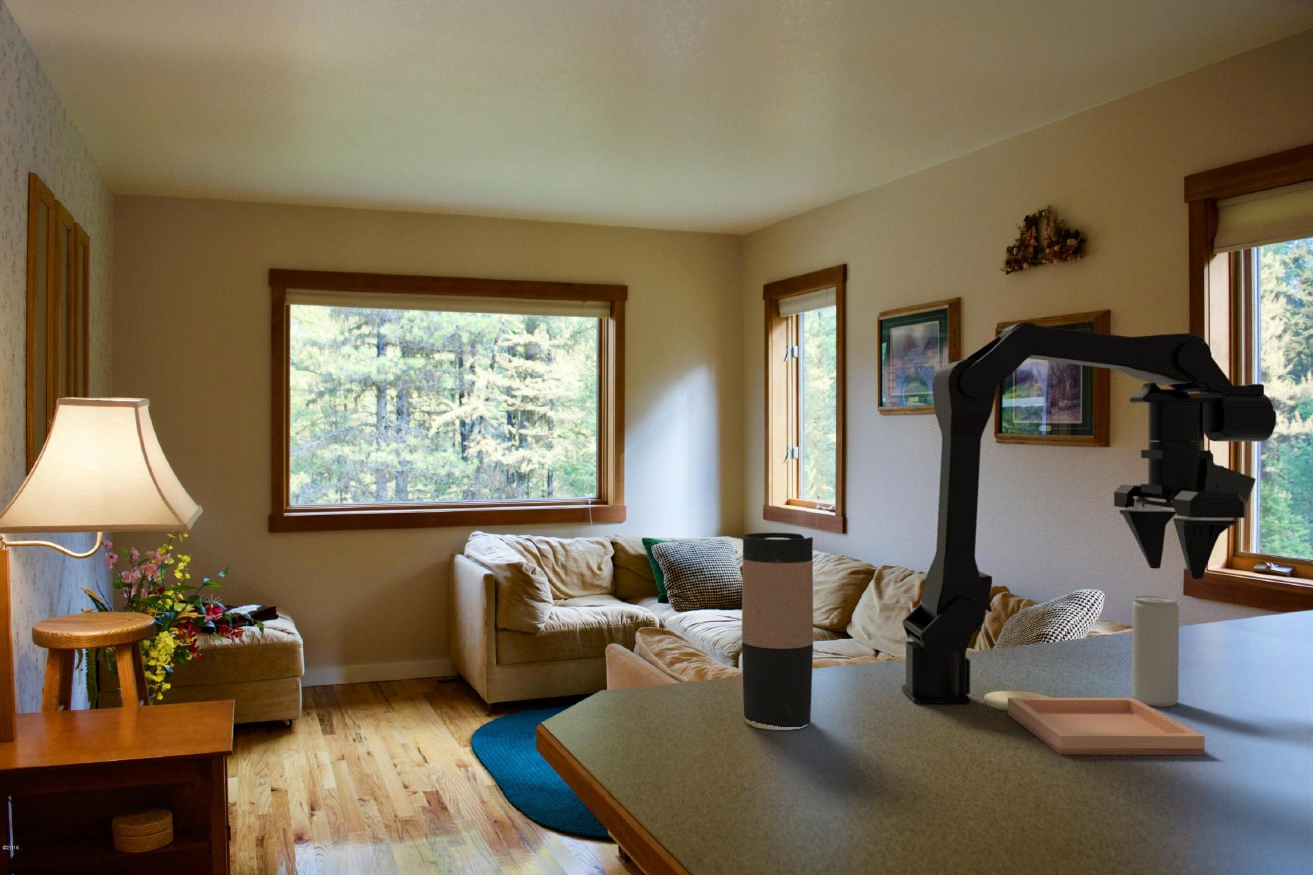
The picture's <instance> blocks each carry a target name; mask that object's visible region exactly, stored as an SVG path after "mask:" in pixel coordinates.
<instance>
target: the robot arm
mask: <svg viewBox="0 0 1313 875" xmlns="http://www.w3.org/2000/svg"><path fill="white" fill-rule="evenodd" d="M1028 359H1031V360H1037V361H1038V360H1039V361H1048V362H1054V363H1063V364H1070V365H1080V366H1086V367H1095V368H1101V369H1102V368H1103V369H1104V368H1105V369H1112V370H1116V371H1118V372H1121V373H1124V374H1126V375H1127V376H1131V377H1132V378H1135V379H1137V380H1141V381H1144V382H1147V383H1144V384H1143V385H1142V387H1141V388H1140V389H1139V390H1138V391H1137V392H1135V393H1134V395H1132V396H1131V397H1130V398H1129V402H1130V403H1131V404H1148V418H1147V419H1148V424H1147V426H1148V428H1147V429H1148V437H1147V438H1148V439H1147V440H1148V442H1147V444H1148V449H1141V450H1140V458H1141V459H1147V460H1148V462H1147V464H1148V467H1147V468H1148V469H1147V470H1148V473H1147V475H1148V477H1147V481H1148V482H1147V483H1140V484H1120V485H1119V487H1118V488H1116V489H1115V491H1114V492H1113V507H1117V508H1124V509H1119V514H1121V515H1122V516H1123V518H1124V520H1125V521H1126V524H1127V526H1128V527H1129V529H1130V531H1131V533H1132V535H1133V536H1134V539H1135V540H1136V542H1137V544H1138V546H1139V548H1140V550H1141V552H1142V554H1143V557H1144V559H1145V560H1146V562H1147V564H1148V565H1147V566H1149V568H1150V569H1153V570H1154V569H1157V570H1158V569H1160V568H1161V565H1162V558H1163V552H1164V543H1165V536H1166V526H1167V524H1168V523H1169V522H1170V521H1171V520H1172V519H1173V520H1172V521H1173V524H1174V527H1175V531H1176V534H1177V537H1178V540H1179V541H1178V542H1179V543H1180V544H1179V545H1180V548H1181V551H1182V555H1183V558H1184V562H1185V565H1186V568H1187V570H1188V574H1189V576H1190V579H1192V580H1202V579H1203V577H1204V575H1205V572H1206V569H1207V567H1208V564H1209V561H1210V558H1211V555H1212V554H1213V550H1214V548H1215V546H1216V543H1217V541H1218V540H1219V536H1220V535H1221V534H1222V533H1223V532H1225V531H1226V530H1227V529H1229V528H1230V527H1231V526H1236V525H1237V524H1238V522H1239V521H1240V520H1239V519H1246V518H1247V504H1248V502H1249V499H1250V498H1251V497H1250V496H1251V494H1252V491H1253V489H1254V486H1255V484H1256V480H1257V479H1256V478H1255V477H1252V476H1249V475H1247V474H1243V473H1241V472H1238V471H1236V470H1234V469H1230V468H1228V467H1225V466H1224V465H1218V464H1216V463H1215V462H1214V454H1213V453H1212V449H1210V450H1205V449H1204V441H1203V440H1204V436H1205V437H1206V438H1207V439H1208V440H1210V441H1211V442H1258V443H1259V442H1264V441H1267V440H1268V439H1269V438H1270V437H1271V436H1272V435H1273V432H1274V430H1275V429H1276V428H1275V427H1276V424H1277V411H1275V410H1274V405H1273V403H1272V400H1271V399H1270V398H1269V396H1267V395H1266V394H1265V385H1264V384H1262V383H1254V384H1253V383H1252V384H1251V383H1250V384H1242V385H1234V384H1233V383H1232V382H1231V380H1230V379H1229V378H1228V376H1227V375H1226V374H1225V373H1224V371H1223V370H1222V369H1221V368H1222V367H1220V365H1218V363H1217V362H1216V361H1215V359H1214V357H1212V351H1211V348H1210V346H1209V345H1208V343H1207V342H1206V340H1205V338H1204V337H1202V336H1201V335H1200V334H1199V335H1198V334H1195V333H1190V332H1189V333H1188V332H1187V333H1186V332H1185V333H1169V334H1168V333H1167V334H1164V333H1163V334H1154V335H1141V336H1125V335H1119V334H1118V335H1116V334H1110V333H1102V332H1094V331H1093V332H1092V331H1087V330H1077V329H1070V328H1062V327H1061V328H1060V327H1053V326H1046V325H1039V324H1036V323H1033V322H1029V321H1024V322H1020V323H1016V324H1014V325H1010V326H1007V327H1006V328H1004V329H1003V330H1002V331H1001V333H1000V334H998V335H997V336H996V337H995V338H993V339H992V340H990V341H989V342H987V343H986V344H985V345H983V346H981V347H980V348H979V349H978V350H976V351H974V352H973V353H971V354H970V355H969V356H967V357H966V358H964V359H962V360H958V361H955V362H954V361H953V362H950V363H948V364H946V365H943V366H942V367H941V368H940V369H939V370H937V372H936V373H935V375H934V377H933V380H932V384H931V387H932V398H933V405H934V406H933V407H934V411H935V412H934V413H935V417H936V419H937V423H938V426H939V429H940V434H941V455H940V473H939V474H940V475H939V490H938V491H939V492H938V494H939V495H938V511H937V515H938V516H937V530H936V532H937V534H936V551H935V554H934V558H933V560H932V563H931V564H930V567H929V569H928V571H927V573H926V577H925V581H924V586H923V591H922V594H921V600H920V603H919V604H917V606H916V607H915V608H914V609H913V610H912V611H911V612H910V613H908V615H907V616H906V617H905V618H904V619H903V620H902V621H901V623H902V624H901V625H902V626H903V629H904V632H905V635H906V637H907V638H908V639H911V640H912V641H909V640H908V641H905V684H902V685H901V691H903V692H904V693H905V695H906V696H908V697H909V698H910V699H911V701H913V702H914V703H917V704H969V703H971V702H972V699H971V697H970V696H969V695H970V694H971V660H970V659H969V657H967V653H966V652H967V650H968V648H969V645H970V643H971V639H972V637H973V634H974V633H976V632H977V631H978V630H980V628H981V627H983V625H984V624H985V621H986V616H987V612H988V613H992V612H993V609H992V606H991V602H990V595H991V589H992V585H993V577H992V576H991V575H989V574H986V573H984V572H981V571H980V570H979V568H978V564H977V561H976V547H977V546H976V544H977V526H978V521H977V520H978V506H979V505H978V503H979V487H980V486H979V484H980V483H979V482H980V468H981V467H980V465H981V464H980V463H981V449H982V447H981V444H982V437H983V434H984V432H985V429H986V427H987V425H988V422H989V420H990V417H991V415H992V412H993V409H994V405H995V404H994V403H995V400H996V395H997V390H998V386H999V385H1000V384H1001V383H1002V382H1003V381H1005V380H1006V379H1007V378H1009V377H1010V376H1011V375H1012V374H1013V373H1014V372H1015V371H1016V370H1017V369H1018V368H1019V367H1020V366H1021V365H1022V364H1024V362H1025V361H1026V360H1028ZM1159 386H1168V387H1169V389H1168V388H1167V389H1165V388H1163V389H1162V388H1161V387H1159ZM1191 394H1192V395H1193V394H1194V395H1195V394H1198V395H1199V397H1192V396H1191ZM1164 508H1170V509H1173V510H1169V509H1168V510H1166V509H1164ZM1176 515H1177V516H1178V517H1177V518H1175V516H1176ZM1179 517H1180V518H1179ZM1181 517H1182V518H1181ZM1183 517H1185V518H1183Z"/></svg>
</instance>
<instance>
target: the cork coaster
mask: <svg viewBox="0 0 1313 875" xmlns="http://www.w3.org/2000/svg"><path fill="white" fill-rule="evenodd" d="M983 698H984V699H983V700H984V703H985V704H986V705H987V706H989V707H991V708H993V709H996V710H1000V711H1005V712H1008V698H1052V697H1050V696H1048V695H1044V694H1041V693H1040V694H1039V693H1034V692H1028V691H1020V690H998V691H992V692H988V693H986V694H985V695H984V697H983Z"/></svg>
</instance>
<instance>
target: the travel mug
mask: <svg viewBox="0 0 1313 875" xmlns="http://www.w3.org/2000/svg"><path fill="white" fill-rule="evenodd" d="M742 538H743V539H742V586H741V588H742V590H741V591H742V595H741V599H742V600H741V603H742V604H741V658H742V659H741V660H742V662H741V664H742V665H741V666H742V694H743V696H742V698H743V699H742V700H743V701H742V702H743V717H744V716H745V718H746V719H748V720H750V721H755V722H756V723H761V724H766V725H773V726H778V727H779V726H780V727H802V726H804V725H807V724H809V723H811V718H812V717H811V716H812V715H811V714H812V692H813V691H812V690H813V689H812V688H813V687H812V685H813V662H814V661H813V660H814V659H813V658H814V652H813V651H814V587H813V586H814V582H813V581H814V575H813V574H814V568H813V567H814V566H813V565H814V564H813V562H814V561H813V558H814V557H813V556H814V555H813V551H814V550H813V548H814V547H813V546H814V545H813V542H814V538H813V536H811V537H810V536H809V537H807V538H805V537H804V535H802V534H800V533H795V532H794V533H792V532H755V533H748V534H747V533H746V534H744V535H743V537H742ZM809 725H810V724H809Z"/></svg>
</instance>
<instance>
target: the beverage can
mask: <svg viewBox="0 0 1313 875" xmlns="http://www.w3.org/2000/svg"><path fill="white" fill-rule="evenodd" d="M1133 600H1134V601H1133V602H1132V605H1131V606H1132V619H1131V620H1132V632H1131V633H1132V634H1131V637H1132V641H1131V644H1132V645H1131V646H1132V649H1131V650H1132V651H1131V654H1132V657H1131V658H1132V660H1131V661H1132V662H1131V665H1132V666H1131V670H1132V671H1131V674H1132V675H1131V676H1132V677H1131V679H1132V680H1131V683H1132V685H1131V689H1132V690H1131V691H1132V692H1131V695H1132V698H1135V699H1137V700H1138V701H1140V702H1142V703H1144V704H1146V705H1148V706H1150V707H1151V706H1152V707H1156V708H1157V707H1159V708H1160V707H1161V708H1166V707H1173V706H1176V704H1177V703H1178V702H1179V696H1180V695H1179V692H1180V691H1179V689H1180V688H1179V687H1180V686H1179V681H1180V680H1179V677H1180V676H1179V674H1180V672H1179V671H1180V669H1179V668H1180V665H1179V662H1180V661H1179V660H1180V659H1179V657H1180V656H1179V653H1180V652H1179V651H1180V650H1179V649H1180V648H1179V647H1180V644H1179V643H1180V642H1179V640H1180V638H1179V637H1180V634H1179V633H1180V623H1179V622H1180V621H1179V620H1180V616H1179V615H1180V607H1179V606H1180V605H1179V604H1178V600H1177V599H1175V598H1174V597H1173V598H1172V597H1166V596H1156V595H1136V596H1134V597H1133Z"/></svg>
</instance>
